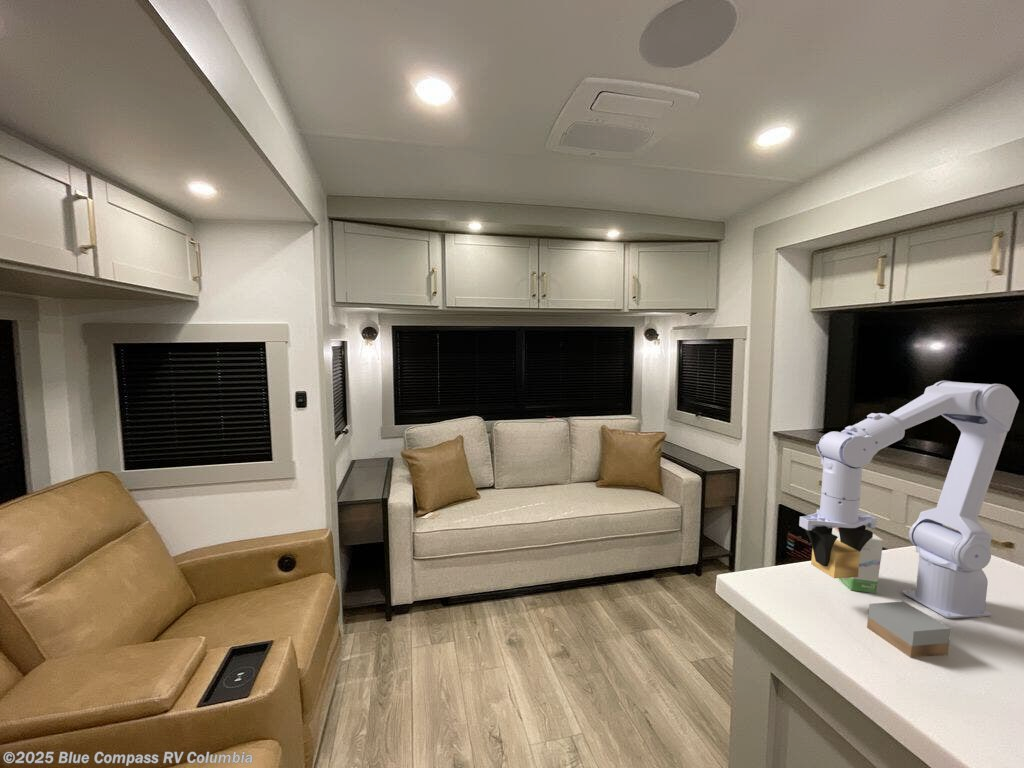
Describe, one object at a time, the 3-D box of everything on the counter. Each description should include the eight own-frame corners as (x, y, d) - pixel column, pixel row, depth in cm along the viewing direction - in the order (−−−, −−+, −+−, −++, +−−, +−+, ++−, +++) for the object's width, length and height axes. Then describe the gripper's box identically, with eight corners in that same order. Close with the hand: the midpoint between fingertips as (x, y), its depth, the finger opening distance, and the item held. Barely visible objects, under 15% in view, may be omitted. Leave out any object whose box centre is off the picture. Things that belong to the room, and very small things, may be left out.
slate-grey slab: (902, 614, 71) (903, 601, 71) (949, 642, 64) (950, 628, 64) (868, 617, 70) (869, 603, 70) (912, 646, 64) (913, 631, 63)
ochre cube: (833, 563, 79) (835, 539, 79) (857, 577, 74) (860, 551, 74) (811, 564, 79) (813, 540, 78) (834, 578, 74) (836, 552, 74)
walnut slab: (900, 627, 72) (902, 614, 71) (947, 657, 65) (949, 642, 64) (866, 630, 71) (867, 616, 71) (910, 660, 64) (911, 645, 64)
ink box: (826, 569, 90) (830, 519, 89) (852, 571, 89) (857, 521, 88) (850, 591, 82) (855, 536, 81) (879, 594, 81) (884, 539, 80)
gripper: (853, 487, 80) (848, 551, 81) (788, 488, 79) (784, 554, 80) (890, 499, 73) (884, 569, 74) (819, 502, 72) (814, 573, 73)
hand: (834, 563), depth 77 cm, fingers closed on ochre cube, 5 cm apart
